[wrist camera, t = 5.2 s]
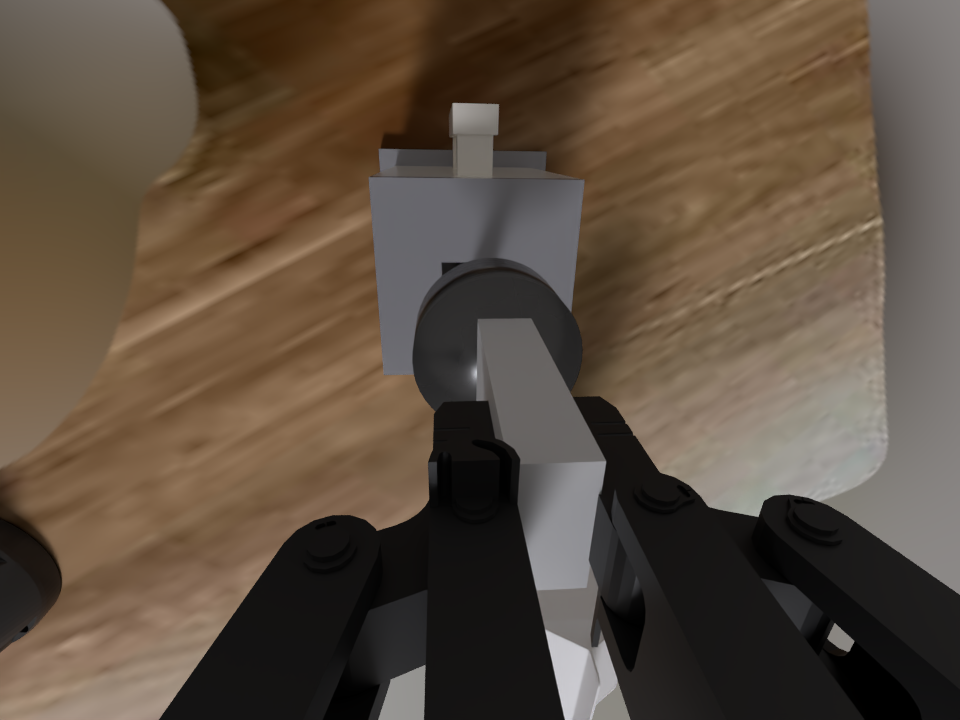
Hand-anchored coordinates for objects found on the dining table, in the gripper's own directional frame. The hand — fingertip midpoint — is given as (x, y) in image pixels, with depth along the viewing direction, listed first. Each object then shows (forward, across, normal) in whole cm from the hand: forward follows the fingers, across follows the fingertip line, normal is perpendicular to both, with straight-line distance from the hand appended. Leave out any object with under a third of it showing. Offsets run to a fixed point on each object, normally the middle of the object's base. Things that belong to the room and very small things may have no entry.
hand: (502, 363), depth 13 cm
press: (+23, 0, 0) cm, 23 cm away
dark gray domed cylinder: (+14, 0, 0) cm, 14 cm away
